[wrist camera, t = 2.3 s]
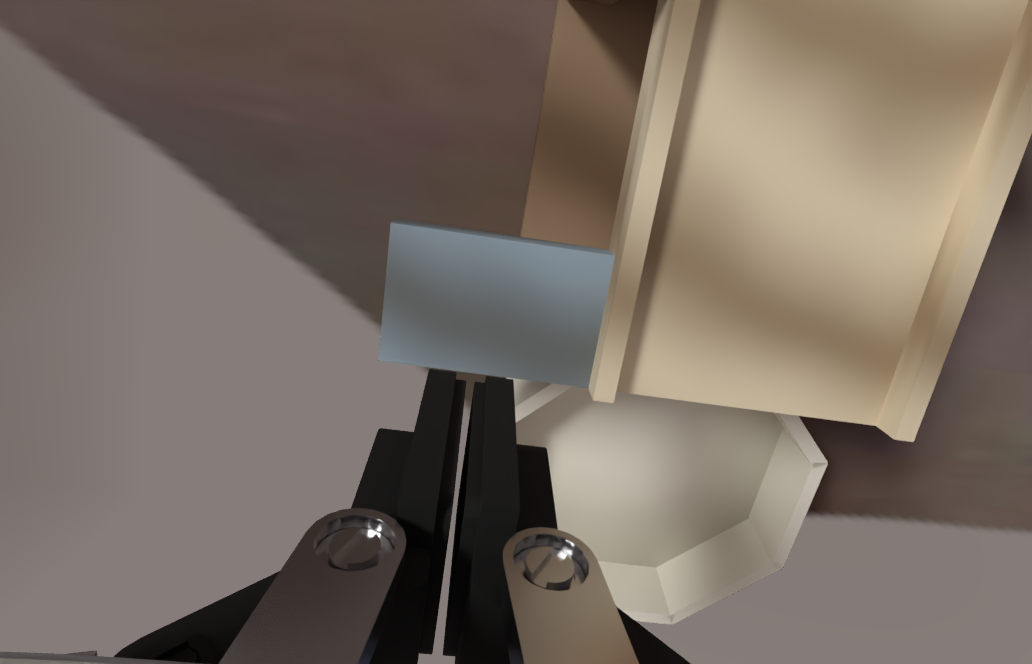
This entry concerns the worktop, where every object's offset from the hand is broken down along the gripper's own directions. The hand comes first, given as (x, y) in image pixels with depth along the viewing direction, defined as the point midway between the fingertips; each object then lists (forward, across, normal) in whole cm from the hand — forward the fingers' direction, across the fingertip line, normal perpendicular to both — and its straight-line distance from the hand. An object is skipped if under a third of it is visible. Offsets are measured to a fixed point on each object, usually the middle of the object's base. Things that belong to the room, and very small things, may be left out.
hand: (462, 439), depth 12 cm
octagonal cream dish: (+15, -8, +9) cm, 19 cm away
